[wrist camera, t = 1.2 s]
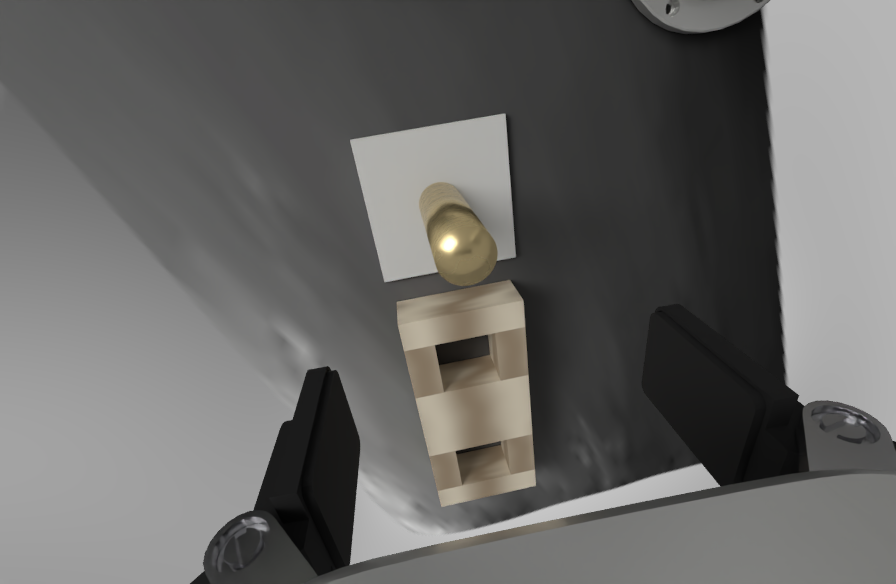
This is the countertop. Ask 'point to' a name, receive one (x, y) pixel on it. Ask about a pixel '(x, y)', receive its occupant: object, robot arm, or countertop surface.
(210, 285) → the countertop surface
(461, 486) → the hole block
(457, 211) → the brass peg
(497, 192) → the rubber mat
